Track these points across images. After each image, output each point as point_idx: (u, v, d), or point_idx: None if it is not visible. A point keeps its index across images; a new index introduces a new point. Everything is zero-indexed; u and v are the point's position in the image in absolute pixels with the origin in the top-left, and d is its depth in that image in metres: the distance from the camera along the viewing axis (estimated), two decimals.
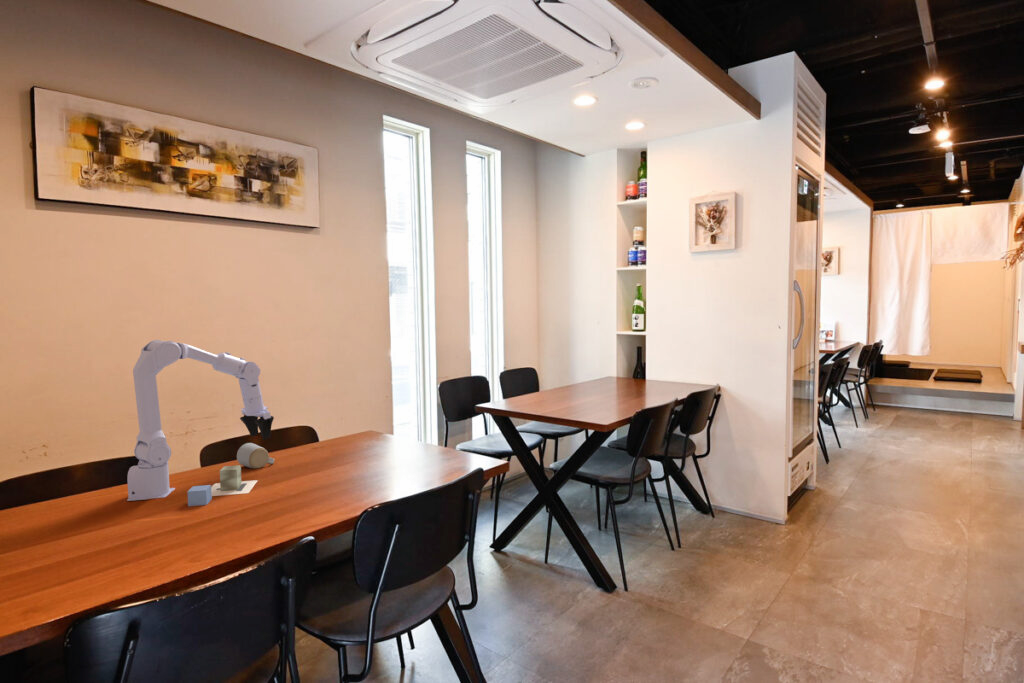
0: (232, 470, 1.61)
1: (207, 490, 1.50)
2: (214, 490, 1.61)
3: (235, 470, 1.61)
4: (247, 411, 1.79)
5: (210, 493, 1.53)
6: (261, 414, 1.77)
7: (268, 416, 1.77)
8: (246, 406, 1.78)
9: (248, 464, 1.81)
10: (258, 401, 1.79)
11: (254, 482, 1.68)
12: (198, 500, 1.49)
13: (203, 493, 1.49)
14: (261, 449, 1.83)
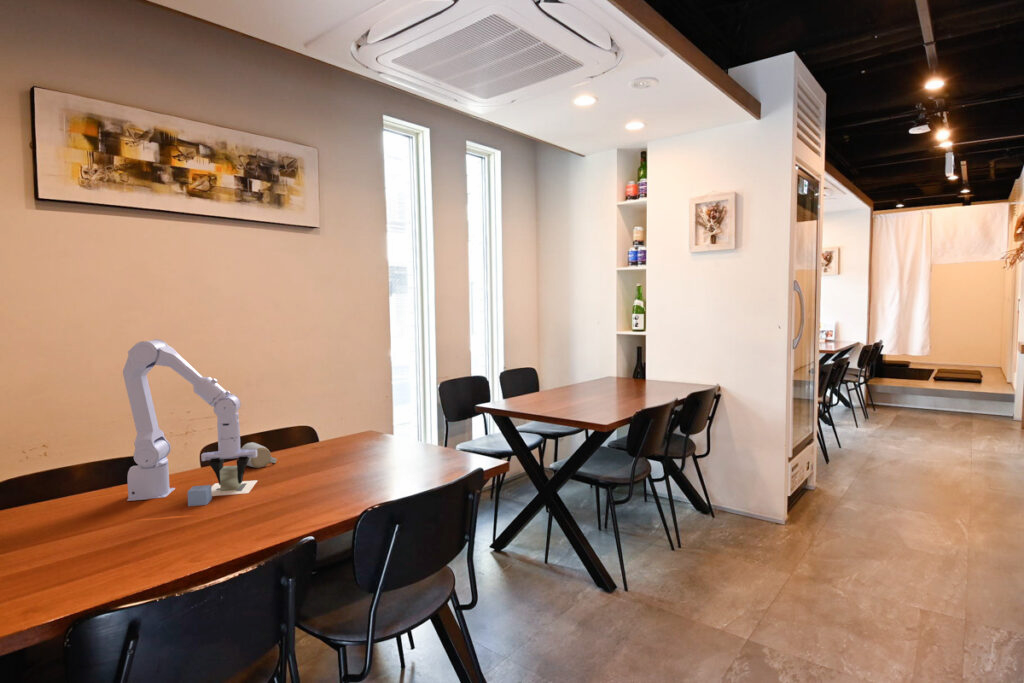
0: (232, 470, 1.61)
1: (207, 490, 1.50)
2: (214, 490, 1.61)
3: (235, 470, 1.61)
4: (229, 452, 1.59)
5: (210, 493, 1.53)
6: (250, 452, 1.62)
7: (256, 454, 1.64)
8: (229, 446, 1.59)
9: (250, 463, 1.82)
10: (239, 440, 1.63)
11: (254, 482, 1.68)
12: (198, 500, 1.49)
13: (203, 494, 1.49)
14: (263, 449, 1.84)
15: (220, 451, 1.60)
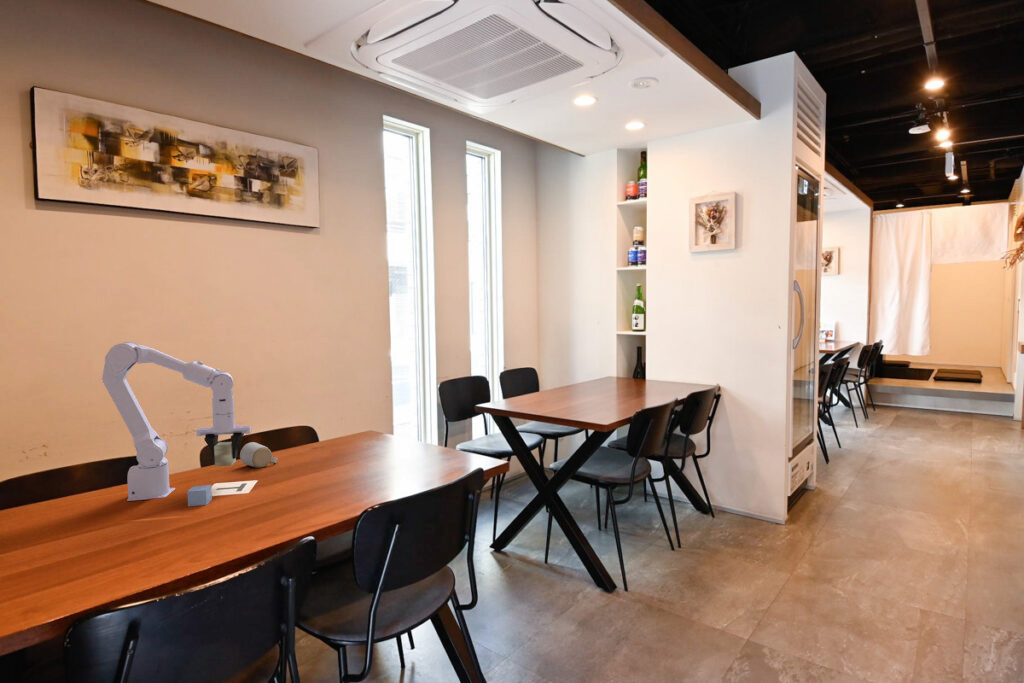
0: (226, 446, 1.63)
1: (207, 490, 1.50)
2: (214, 490, 1.61)
3: (229, 446, 1.63)
4: (223, 427, 1.62)
5: (210, 493, 1.53)
6: (244, 428, 1.65)
7: (250, 431, 1.67)
8: (223, 421, 1.62)
9: (251, 463, 1.82)
10: None
11: (254, 482, 1.68)
12: (198, 500, 1.49)
13: (203, 494, 1.49)
14: (264, 448, 1.84)
15: (215, 426, 1.62)
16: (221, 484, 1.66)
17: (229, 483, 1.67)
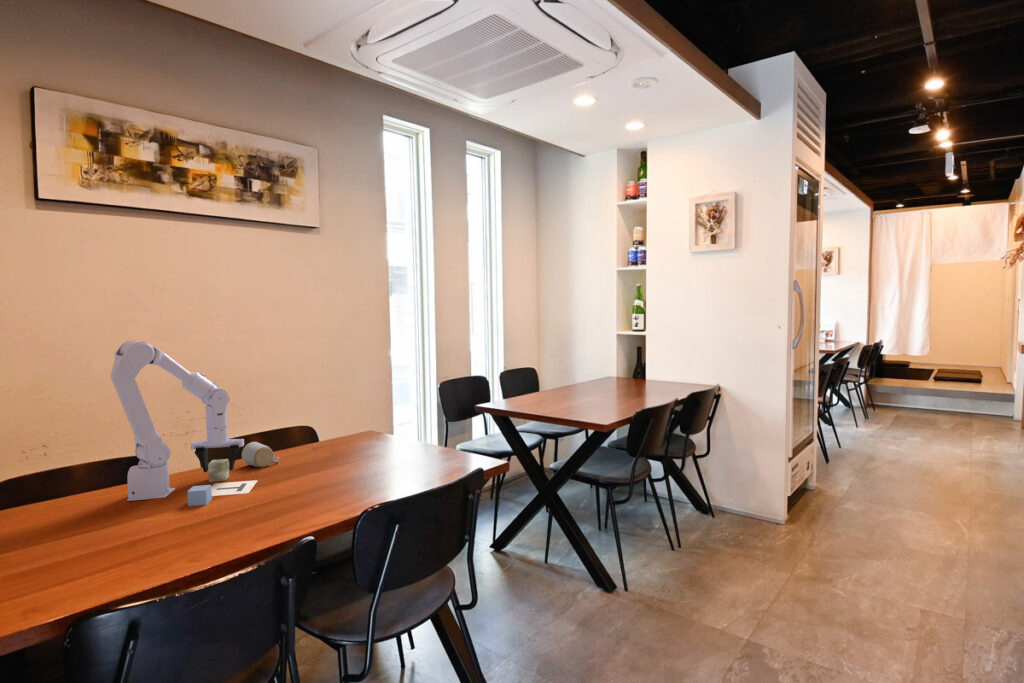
0: (220, 463, 1.69)
1: (207, 490, 1.50)
2: (214, 490, 1.61)
3: (223, 463, 1.70)
4: (216, 441, 1.68)
5: (210, 493, 1.53)
6: (237, 441, 1.71)
7: (243, 443, 1.73)
8: (216, 435, 1.68)
9: (253, 463, 1.82)
10: (227, 430, 1.72)
11: (254, 482, 1.68)
12: (198, 500, 1.49)
13: (203, 494, 1.49)
14: (266, 448, 1.85)
15: (208, 440, 1.68)
16: (221, 484, 1.66)
17: (229, 483, 1.67)
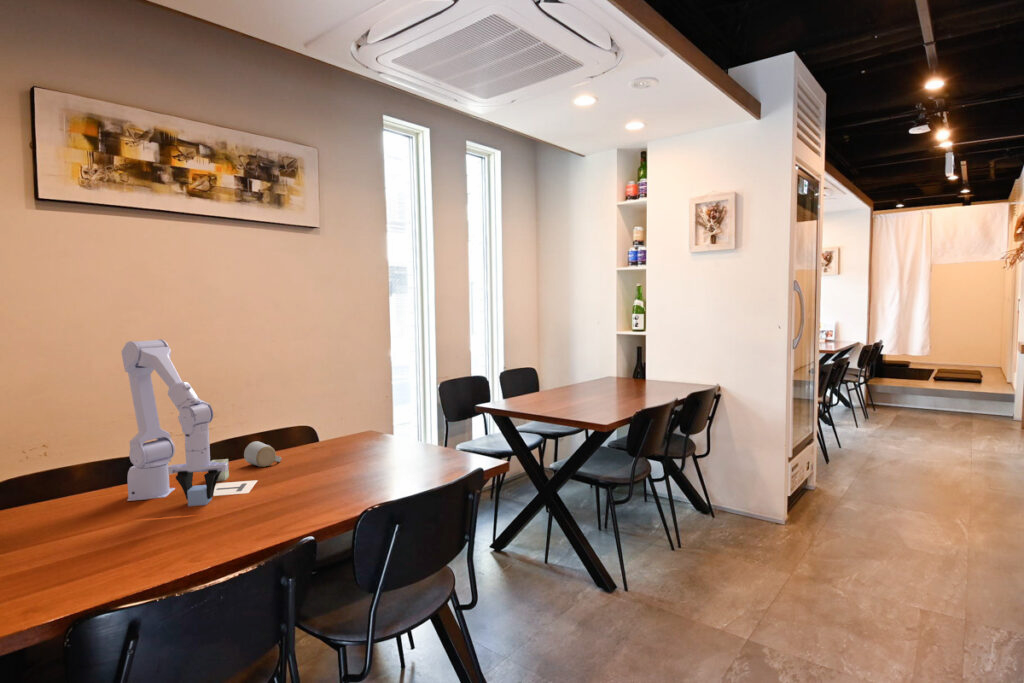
0: None
1: None
2: (214, 490, 1.61)
3: None
4: (195, 465, 1.48)
5: None
6: (219, 466, 1.50)
7: (226, 468, 1.51)
8: (195, 459, 1.47)
9: (255, 462, 1.83)
10: (209, 452, 1.51)
11: (254, 482, 1.68)
12: (198, 499, 1.49)
13: (203, 493, 1.49)
14: (268, 447, 1.85)
15: (187, 464, 1.48)
16: (221, 484, 1.66)
17: (229, 483, 1.67)
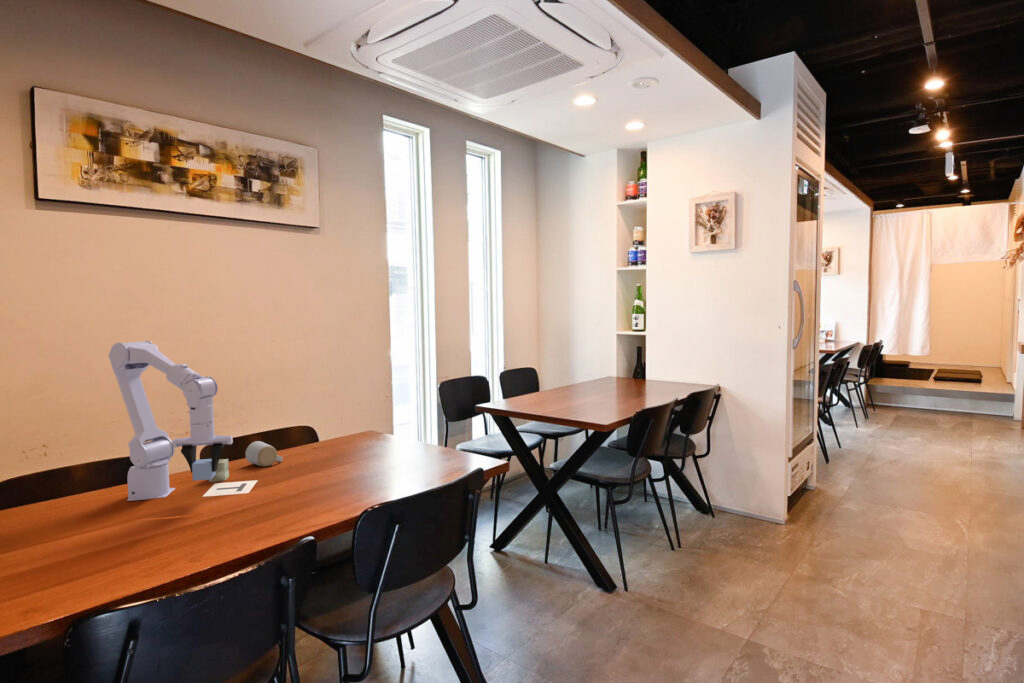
0: (220, 463, 1.69)
1: (211, 463, 1.52)
2: (214, 490, 1.61)
3: (223, 463, 1.70)
4: (201, 438, 1.49)
5: None
6: (224, 439, 1.52)
7: (231, 441, 1.54)
8: (201, 431, 1.49)
9: (257, 462, 1.83)
10: (213, 425, 1.53)
11: (254, 482, 1.68)
12: (202, 472, 1.50)
13: (208, 466, 1.50)
14: (269, 447, 1.86)
15: (192, 437, 1.49)
16: (221, 484, 1.66)
17: (229, 483, 1.67)
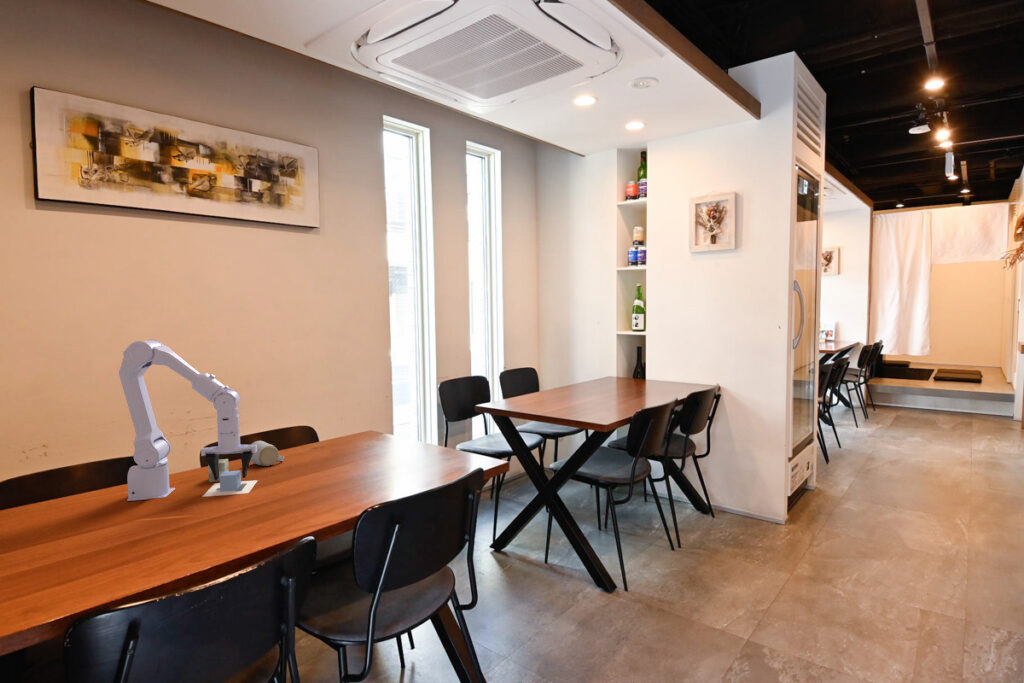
0: (220, 463, 1.69)
1: (237, 475, 1.62)
2: (214, 490, 1.61)
3: (223, 463, 1.70)
4: (228, 447, 1.59)
5: (240, 478, 1.64)
6: (250, 447, 1.62)
7: (256, 449, 1.64)
8: (228, 441, 1.59)
9: (258, 461, 1.84)
10: (239, 435, 1.63)
11: (254, 482, 1.68)
12: (229, 484, 1.60)
13: (234, 478, 1.60)
14: (271, 447, 1.86)
15: (220, 446, 1.59)
16: None
17: None
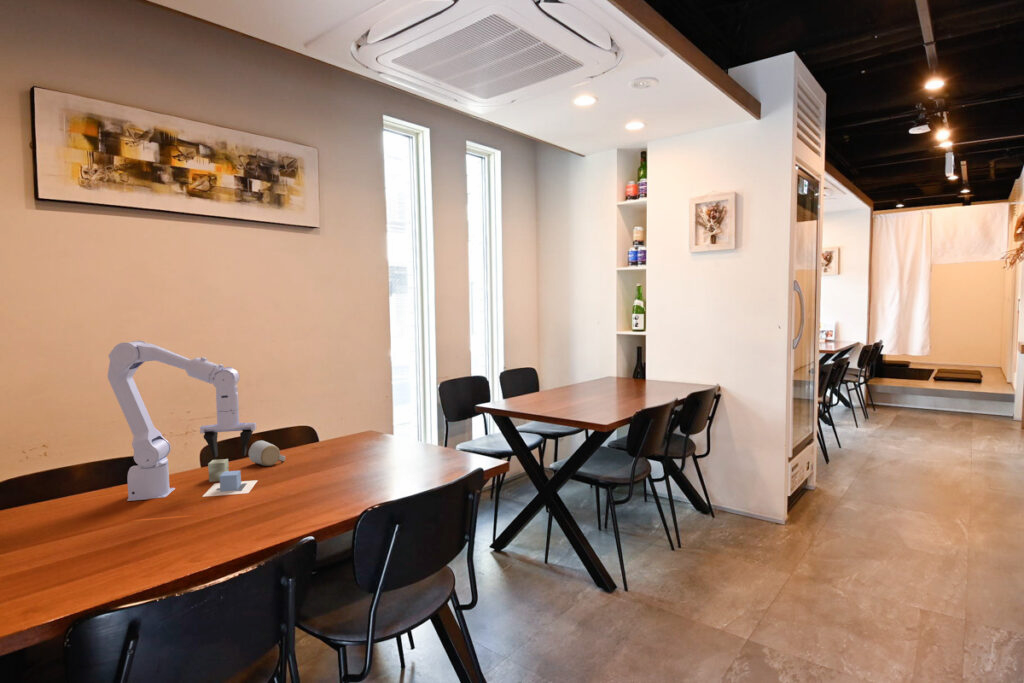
0: (220, 463, 1.69)
1: (237, 475, 1.62)
2: (214, 490, 1.61)
3: (223, 463, 1.70)
4: (227, 424, 1.59)
5: (240, 478, 1.64)
6: (249, 425, 1.62)
7: (255, 427, 1.64)
8: (227, 418, 1.59)
9: (260, 461, 1.84)
10: (238, 413, 1.62)
11: (254, 482, 1.68)
12: (229, 484, 1.60)
13: (234, 478, 1.60)
14: (272, 446, 1.86)
15: (219, 423, 1.59)
16: None
17: None
